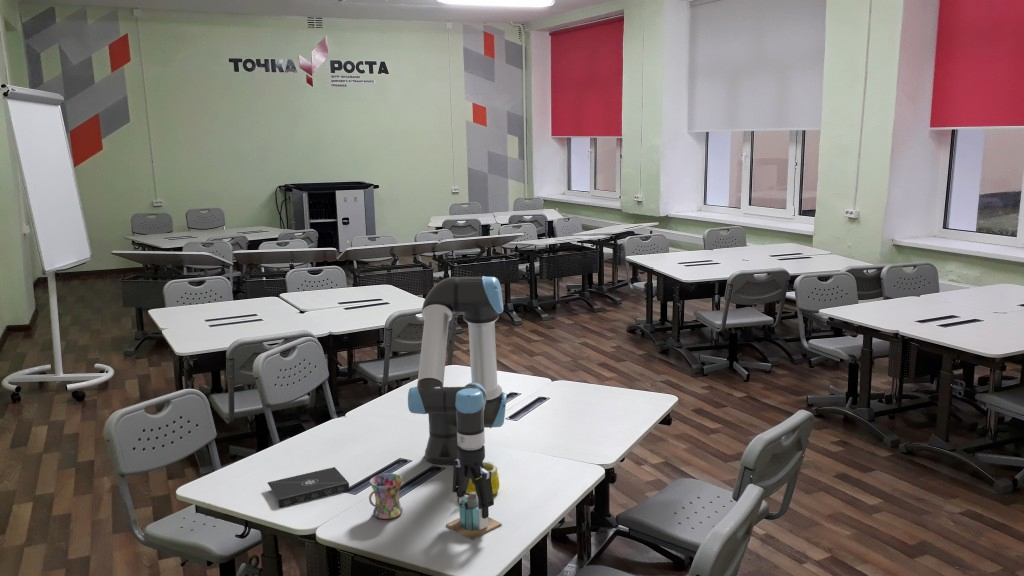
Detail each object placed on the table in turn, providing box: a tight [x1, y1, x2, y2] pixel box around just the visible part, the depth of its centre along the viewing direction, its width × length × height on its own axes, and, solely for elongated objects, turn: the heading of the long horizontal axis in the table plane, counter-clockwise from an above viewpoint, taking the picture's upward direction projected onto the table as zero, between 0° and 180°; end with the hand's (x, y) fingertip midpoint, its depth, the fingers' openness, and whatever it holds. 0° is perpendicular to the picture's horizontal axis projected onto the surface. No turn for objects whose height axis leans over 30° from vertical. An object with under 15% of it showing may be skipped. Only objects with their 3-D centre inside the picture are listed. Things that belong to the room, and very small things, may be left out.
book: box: [267, 466, 350, 509], centre depth 239 cm, size 22×15×3 cm
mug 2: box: [466, 461, 500, 496], centre depth 234 cm, size 13×11×12 cm
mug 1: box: [368, 472, 404, 520], centre depth 220 cm, size 12×9×11 cm
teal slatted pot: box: [458, 499, 484, 530], centre depth 213 cm, size 8×8×6 cm
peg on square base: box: [445, 492, 503, 541], centre depth 213 cm, size 11×11×10 cm
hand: (473, 522), depth 214 cm, fingers closed on teal slatted pot, 7 cm apart
